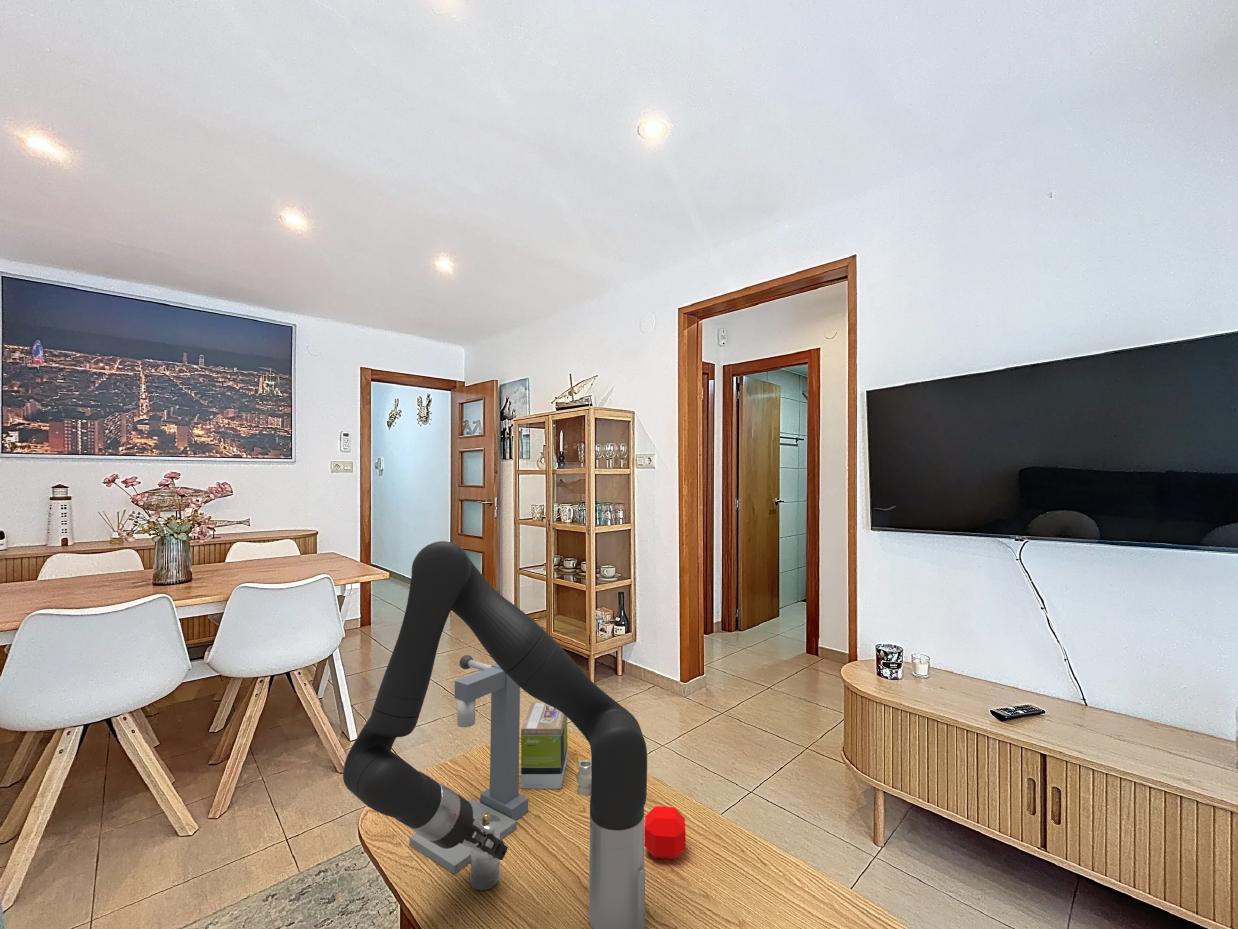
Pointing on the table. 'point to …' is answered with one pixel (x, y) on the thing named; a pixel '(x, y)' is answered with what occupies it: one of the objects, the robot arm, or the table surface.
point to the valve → (584, 777)
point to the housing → (485, 857)
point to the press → (503, 757)
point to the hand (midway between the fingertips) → (492, 847)
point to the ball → (665, 832)
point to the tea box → (543, 747)
